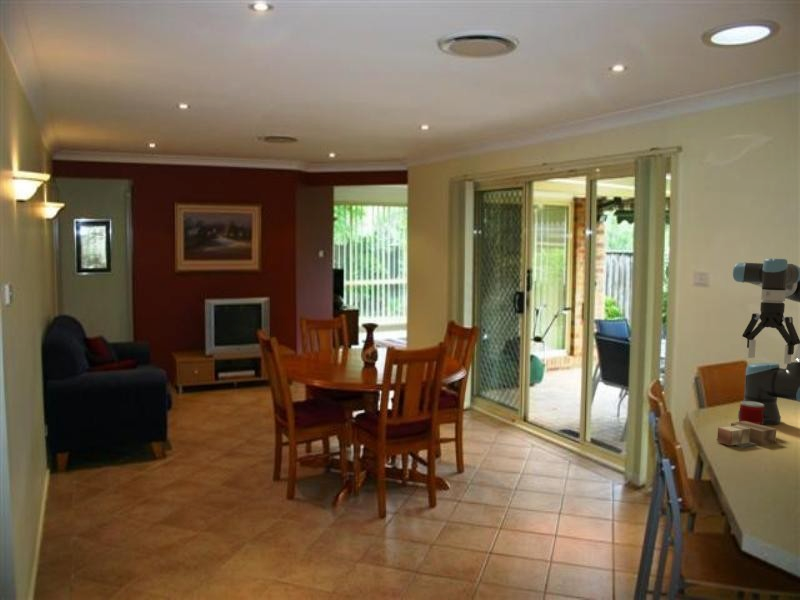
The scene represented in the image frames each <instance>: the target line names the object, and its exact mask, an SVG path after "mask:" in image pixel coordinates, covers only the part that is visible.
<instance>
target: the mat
mask: <svg viewBox="0 0 800 600" xmlns="http://www.w3.org/2000/svg"><path fill="white" fill-rule="evenodd" d="M757 445H758V444H756V443H752V442H749V443H743V444H736V447H738V446H740V447H739V448H741V447H744V448H748V446H749V447H752V446H753V447H754V446H757Z"/></svg>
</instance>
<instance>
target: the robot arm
mask: <svg viewBox="0 0 800 600" xmlns="http://www.w3.org/2000/svg"><path fill="white" fill-rule="evenodd" d="M732 278H733V279H734V281H735V282H737V283H746V284H747V283H748V284H752V285H755V286H757V287H760V288H761V295H760V296H761V297H760V300H761V302H760V313H756V312H755V313H752V314H751V319H750V321H749V322H748V324H747V326H746V328H745V329H744V330H743V333H742V335H741V336H742V338H745V339H746V341H747V342H746V344H747V345H746V347H747V349H748V352H747V353H748V355H747V358H749V359H753V358H756V344H757V343H756V342H757V339H755V338H756V337H757V336H758V335H759V334H760V333H761V332H762V331H763V329H765V328H771V329H776V330H777V331H778V333H779V334H780V336H781V337H782V339H784V341H785V342H786V345H785V346H784V359H783V364H785V365H786V368H781V366H780V364H779V363H774V362H759V363H749V364H748V365H746V368H745V374H744V393H743V394H744V395H743V397H744V398H743V401H753V402H759V403H762V404H764V418H763V425H765V426H766V425H767V426H768V425H771V426H774V425H779V424H781V421H782V419H781V418H782V416H781V414H780V409H779V407H778V404H777V403H778V398H779V399H783V400H789V401H794V402H798V403H800V337H799V335H798V333H797V330H796V327H795V326H794V321H793V317H792V316H784V313H785V305H786V304H785V301H786V299H787V300H790V301H793V302H796V303H800V266H798V265H796V264H792V263H788V259H786V258H765V259H764V260H763V262H762V263H760V262H738V263H736V264H735V265H734V267H733V270H732ZM759 320H760V322H759ZM758 322H759V323H758ZM757 323H758V324H757ZM783 323H784V324H785V325H784V324H783ZM756 325H757V326H756ZM796 345H797V347H796V350H795V346H796ZM794 352H795V353H794ZM792 355H794V356H793V360H792ZM737 413H738V414H737V415H738V416H737V418H738V419H739V415H740V409H739V410H738V412H737Z"/></svg>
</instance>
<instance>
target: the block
mask: <svg viewBox="0 0 800 600" xmlns="http://www.w3.org/2000/svg"><path fill="white" fill-rule="evenodd" d="M716 437H717V439H716V441H717V442H718V443H720V444H722V445H723V444H724V445H727V446H734V445H736V444H743V443H749V439H750V428H746V427H743V426H739V425H735V426H731V425H729V426H721V427H717V436H716Z"/></svg>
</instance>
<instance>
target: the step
mask: <svg viewBox="0 0 800 600" xmlns="http://www.w3.org/2000/svg"><path fill="white" fill-rule="evenodd" d="M735 425H739V426H743V427H746V428H750V439H749V442H752V443H756V444H757V445H759V446H765V445H771V444H775V443H776V440H777V438H776V437H777V436H776V435H777V428H774V427H771V426H768V425H767V426H766V425H764V424H763V425H759V424H755V423H751V422H748V421H741V422H739V421H736V422H731V423H730V426H735Z"/></svg>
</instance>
